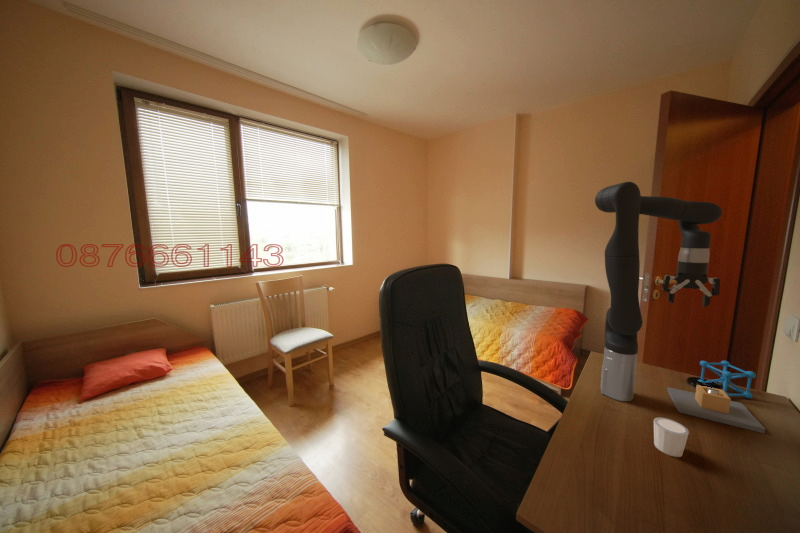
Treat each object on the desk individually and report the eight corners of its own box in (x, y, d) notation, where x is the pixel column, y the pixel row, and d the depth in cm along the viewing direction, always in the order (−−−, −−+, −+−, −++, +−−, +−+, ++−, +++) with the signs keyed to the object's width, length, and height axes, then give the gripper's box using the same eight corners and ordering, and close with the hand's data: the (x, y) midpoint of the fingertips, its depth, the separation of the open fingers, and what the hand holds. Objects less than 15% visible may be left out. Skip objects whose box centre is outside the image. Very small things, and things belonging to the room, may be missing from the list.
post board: (678, 412, 89) (679, 408, 89) (667, 390, 101) (667, 387, 101) (764, 433, 80) (765, 428, 79) (740, 407, 91) (741, 403, 91)
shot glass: (676, 442, 77) (679, 419, 76) (692, 461, 71) (695, 437, 70) (646, 436, 79) (648, 414, 78) (659, 455, 73) (662, 431, 72)
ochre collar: (701, 407, 89) (703, 393, 89) (694, 397, 94) (696, 384, 94) (728, 413, 86) (730, 399, 85) (720, 403, 91) (722, 389, 90)
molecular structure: (694, 383, 105) (698, 359, 104) (721, 384, 105) (725, 359, 104) (724, 399, 95) (728, 373, 94) (754, 400, 95) (758, 373, 94)
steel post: (706, 406, 90) (709, 390, 89) (704, 402, 92) (706, 387, 91) (717, 408, 88) (719, 393, 88) (714, 404, 90) (716, 389, 90)
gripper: (668, 260, 98) (663, 304, 100) (727, 262, 90) (720, 309, 93) (663, 258, 104) (658, 299, 107) (717, 260, 97) (711, 304, 99)
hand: (687, 304), depth 100 cm, fingers open, 8 cm apart
